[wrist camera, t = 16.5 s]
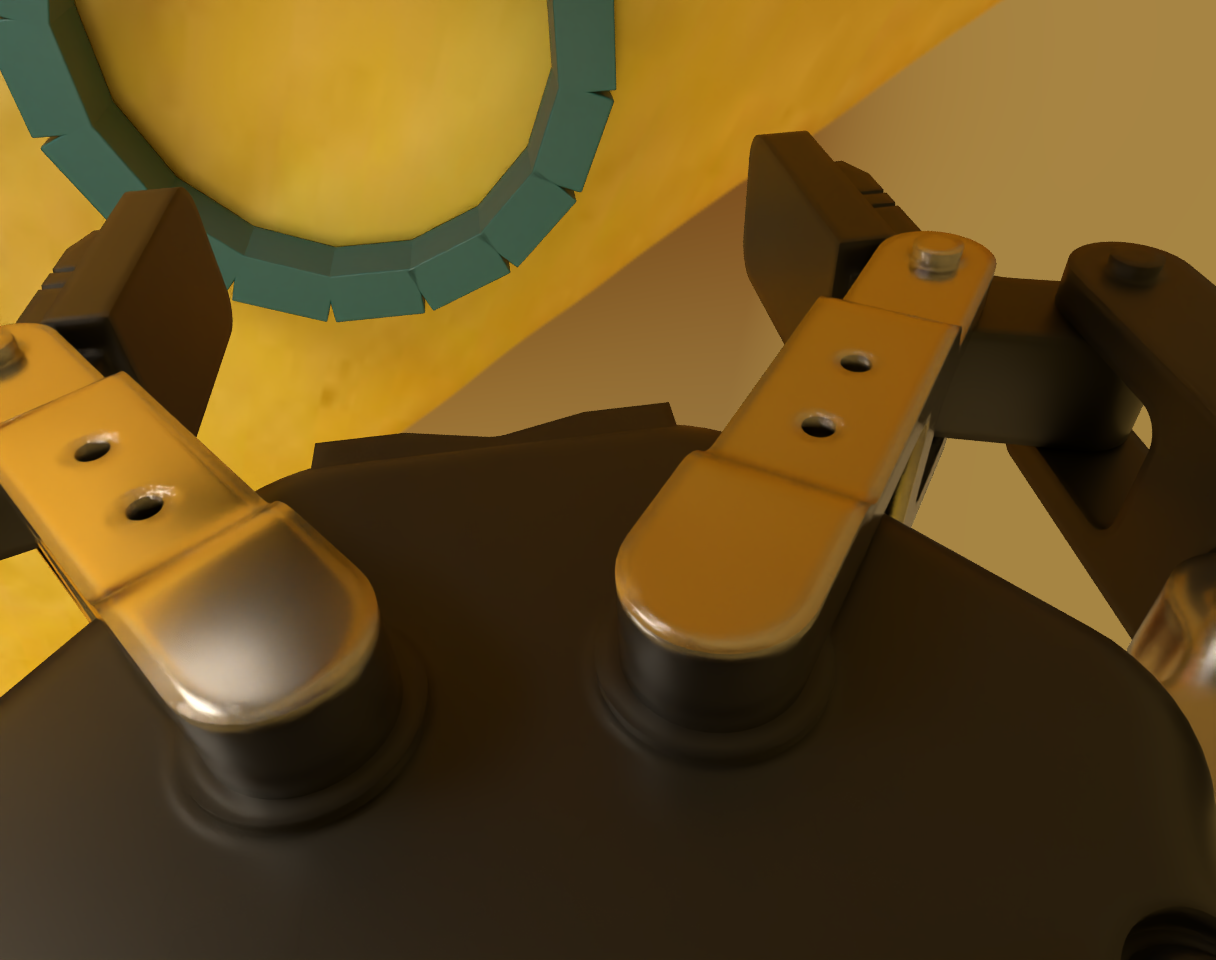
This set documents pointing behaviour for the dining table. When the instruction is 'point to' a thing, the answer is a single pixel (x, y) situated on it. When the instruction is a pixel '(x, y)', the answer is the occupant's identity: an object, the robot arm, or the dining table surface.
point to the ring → (298, 268)
